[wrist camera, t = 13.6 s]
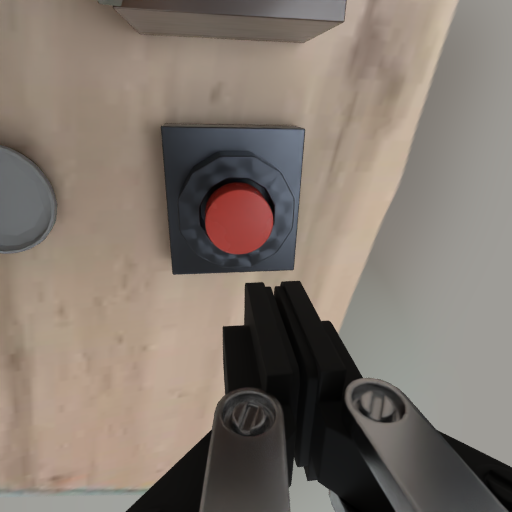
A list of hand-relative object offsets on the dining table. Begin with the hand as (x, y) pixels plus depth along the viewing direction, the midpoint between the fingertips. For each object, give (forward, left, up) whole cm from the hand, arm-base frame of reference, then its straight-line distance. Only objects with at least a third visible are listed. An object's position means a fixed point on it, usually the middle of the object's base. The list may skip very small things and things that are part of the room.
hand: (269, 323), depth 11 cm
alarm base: (0, 0, -14) cm, 14 cm away
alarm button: (0, 0, -10) cm, 10 cm away
